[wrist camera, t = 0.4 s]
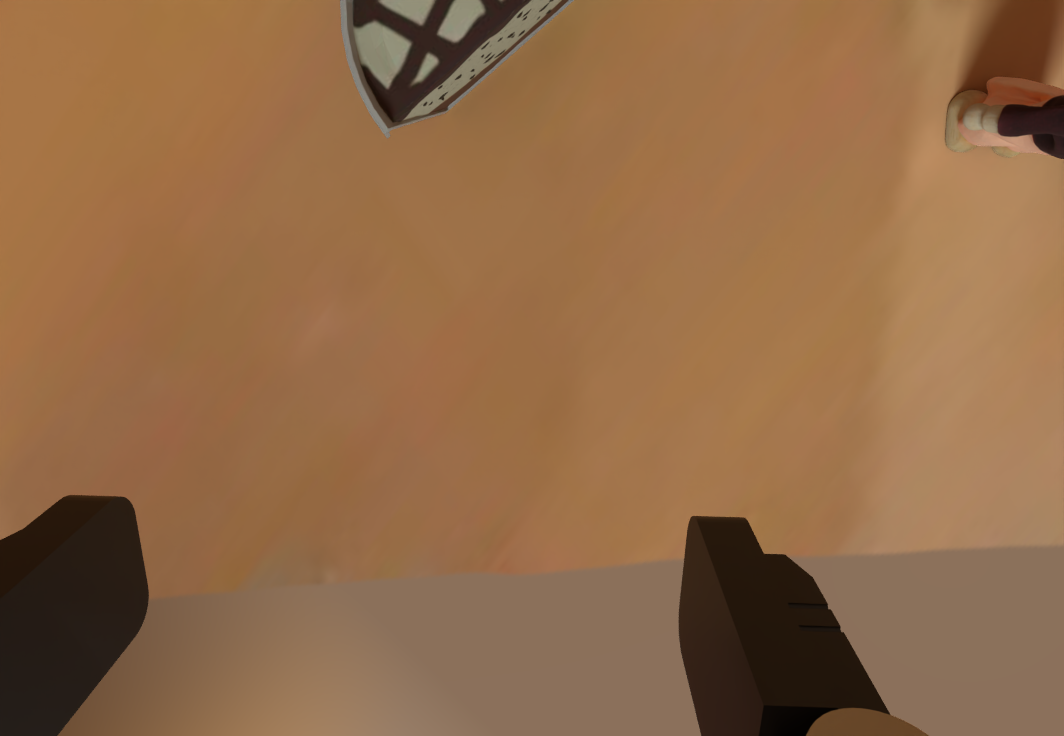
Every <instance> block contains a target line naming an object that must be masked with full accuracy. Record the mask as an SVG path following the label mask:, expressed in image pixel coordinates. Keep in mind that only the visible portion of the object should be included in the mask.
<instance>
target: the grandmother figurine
mask: <svg viewBox="0 0 1064 736" xmlns="http://www.w3.org/2000/svg"><path fill="white" fill-rule="evenodd" d="M987 90H988V95H987V94H986V93H984V92H982V91H978V90H967V91H963V92H961V93H959V94H958V95H957V96H955V97H954V98H953V100H952V101H951V103H950V104H949V107H948V111H947V123H946V133H945V134H946V136H945V141H946V145H947V146H948V148H949V149H950V150H952V151H955V152H967V151H970V150H972V149H974V148H975V147H976V146H992V148H993V150H994V152H995V153H997V154H999V155H1001V156H1004V157H1013V156H1016V155H1018V154H1019V153H1021V152H1024V153H1039V154H1045V155H1052V156H1054V157H1057V158H1060V159H1064V90H1063V89H1060V88H1057V87H1054V86H1050V85H1046V84H1043V83H1039V82H1035V81H1032V80H1027V79H1021V78H1014V77H994V78H991V79H990V80H989V81H988V82H987Z"/></svg>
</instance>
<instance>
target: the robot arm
mask: <svg viewBox="0 0 1064 736" xmlns="http://www.w3.org/2000/svg"><path fill="white" fill-rule="evenodd" d="M148 599H149V591H148V583H147V578H146V572H145V566H144V561H143V555H142V549H141V543H140V538H139V532H138V526H137V521H136V515H135V511H134V508H133V505H132V504H131V502H130V501H129V500H128V499H127V498H125V497H117V496H86V495H68V496H66V497H63V498H62V499H60V500H59V501H58V502H56V503H55V504H54V505H53V506H51V507H50V508H49V509H48V510H46V511H45V512H44V513H43V514H41V515H40V516H39V517H38V518H36V519H35V520H34V521H33V522H31V523H30V524H29V525H27V526H26V527H25V528H24V529H22V530H20V531H18V532H16V533H14V534H12V535H10V536H8V537H6V538H4V539H2V540H0V736H57V735H58V734H59V733H60V732H61V730H62V729H63V728H64V726H65V725H66V724H67V723H68V721H69V720H70V718H72V716H73V715H74V714H75V713H76V711H77V710H78V708H79V707H80V706H81V705H82V703H83V702H84V701H85V700H86V699H87V697H88V696H89V695H90V693H91V692H92V691H93V690H94V688H95V687H96V686H97V685H98V683H99V682H100V681H101V679H102V678H103V677H104V676H105V674H106V673H107V672H108V670H109V669H110V668H111V667H112V666H113V664H114V663H115V661H116V660H117V659H118V658H119V657H120V655H121V654H122V653H123V652H124V650H125V649H126V648H127V646H128V645H129V644H130V643H131V641H132V640H133V639H134V637H135V636H136V635H137V633H138V632H139V630H140V628H141V626H142V624H143V621H144V619H145V615H146V612H147V607H148ZM679 638H680V648H681V653H682V658H683V662H684V666H685V670H686V675H687V679H688V683H689V687H690V691H691V695H692V699H693V703H694V707H695V711H696V715H697V720H698V724H699V728H700V732H701V736H928V735H927V734H926V733H924V732H923V731H921V730H920V729H918V728H917V727H915V726H913V725H911V724H909V723H907V722H905V721H904V720H901V719H899V718H897V717H894V716H892V715H890V713H889V711H888V710H887V708H886V706H885V704H884V703H883V701H882V699H881V697H880V696H879V694H878V692H877V690H876V688H875V687H874V685H873V683H872V681H871V680H870V678H869V676H868V675H867V673H866V671H865V669H864V667H863V665H862V664H861V662H860V660H859V658H858V657H857V655H856V653H855V651H854V650H853V648H852V646H851V644H850V642H849V641H848V639H847V637H846V636H845V634H844V632H841V630H840V625H839V623H838V621H837V620H836V618H835V616H834V614H833V613H832V611H831V610H830V609H828V604H827V602H826V600H825V598H824V597H823V595H822V593H821V592H820V589H819V588H818V586H817V584H816V582H815V581H814V579H813V577H812V576H810V575H809V574H808V573H807V572H805V571H804V570H803V569H802V568H801V567H799V566H798V565H797V564H796V563H794V562H793V561H792V560H791V559H790V558H788V557H787V556H786V555H783V554H764V553H763V551H762V549H761V547H760V545H759V543H758V541H757V539H756V537H755V535H754V533H753V531H752V529H751V527H750V525H749V523H748V521H747V520H746V519H745V518H740V517H709V516H692V517H691V519H690V521H689V524H688V530H687V539H686V548H685V558H684V567H683V577H682V586H681V596H680V605H679Z"/></svg>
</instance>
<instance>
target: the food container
mask: <svg viewBox="0 0 1064 736" xmlns="http://www.w3.org/2000/svg"><path fill="white" fill-rule="evenodd" d="M572 1H574V0H340V8H341V29H342V36H343V41H344V46H345V51H346V57H347V61H348V64H349V67H350V70H351V73H352V76H353V78H354V81H355V84H356V87H357V89H358V91H359V93H360V95H361V97H362V99H363V101H364V103H365V105H366V107H367V109H368V111H369V113H370V115H371V116H372V118H373V119H374V121H375V122H376V124H377V125H378V126H379V128H380V129H381V131H382V132H383V133H384V135H385V136H386V138H389V137H390V134H389V131H390V130H392V129H396V128H399V127H402V126H406V125H409V124H412V123H415V122H419V121H422V120H425V119H428V118H432V117H435V116H438V115H442V114H445V113H446V112H447V111H448V110H450V109H451V108H452V107H453V106H454V105H455V104H456V103H458V102H459V101H460V100H461V99H462V98H463V97H464V96H466V95H467V94H468V93H469V92H470V91H471V90H472V89H474V88H475V87H476V86H477V85H478V84H479V83H480V82H481V81H483V80H484V79H485V78H486V77H487V76H488V75H489V74H491V73H492V72H493V71H494V70H495V69H496V68H497V67H499V66H500V65H501V64H502V63H503V62H504V61H505V60H506V59H508V58H509V57H510V56H511V55H512V54H513V53H514V52H516V51H517V50H518V49H519V48H520V47H521V46H522V45H524V44H525V43H526V42H527V41H528V40H529V39H530V38H532V37H533V36H534V35H535V34H536V33H537V32H538V31H539V30H541V29H542V28H543V27H544V26H545V25H546V24H547V23H549V22H550V21H551V20H552V19H553V18H554V17H555V16H557V15H558V14H559V13H560V12H561V11H562V10H563V9H565V8H566V7H567V6H568V5H569V4H570V3H571V2H572Z"/></svg>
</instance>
